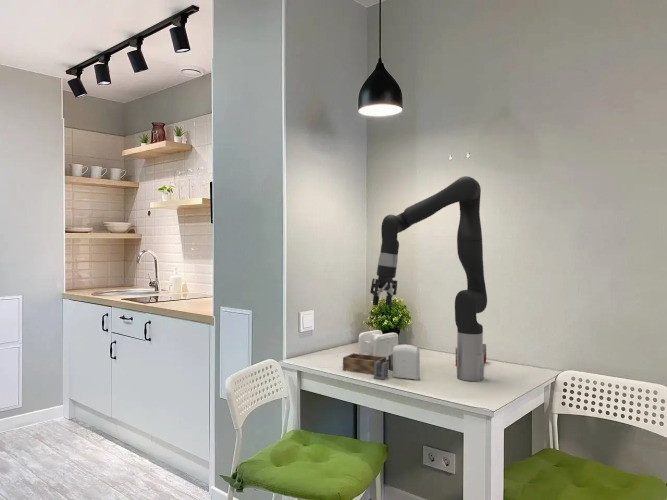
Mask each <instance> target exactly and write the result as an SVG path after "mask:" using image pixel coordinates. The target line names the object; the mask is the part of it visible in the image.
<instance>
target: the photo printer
mask: <svg viewBox="0 0 667 500" xmlns="http://www.w3.org/2000/svg"><path fill="white" fill-rule="evenodd" d="M420 365H421V363H420V349H419V347H417V346H414V345H411V344H398V345H397V346H394V348H393V371H392V377H393V378H399V379H400V378H401V379H408V380H416V381H417V380H420V378H421V377H420V375H421V374H420V372H421V371H420Z"/></svg>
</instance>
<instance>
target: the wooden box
mask: <svg viewBox="0 0 667 500" xmlns="http://www.w3.org/2000/svg"><path fill="white" fill-rule="evenodd" d="M377 361H381V373H382V363H384V362H387V360H386V357H380V356H372V355H364V354H359V353H355V352H354V353H350V354H348V355H345V356H344V357H342V370H343V371H346V372H347V371H349V372H353V373H354V372H355V373H361V374H368V375H374V363H375V362H377Z"/></svg>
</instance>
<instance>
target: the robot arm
mask: <svg viewBox="0 0 667 500" xmlns="http://www.w3.org/2000/svg"><path fill="white" fill-rule="evenodd" d="M481 192H482V188H481V185H480V183H479V182H478V181H477V180H476V179H475V178H473V177H472V176H467V175H466V176H461V177H459V178H457V179H456V180H455V181H453V182H452V183H450V184H448V186H446V187H445V188H443V189H441V190H440V191H437V193H435V194H433V195H431V196H428V197H427V198H425V199H423V200H420V201H418V202H416V203H414V204H412V205H410V206H408V207H406V208H405V209H404V211H403V212H401V213H398V214H397V215H395V214H387V215H386V216H385V217H384V218H383V219H382V222H381V228H380V230H381V246H380V253H379V255H378V257H379V258H378V261H377V262H378V263H377V269H376V276H378V277H377V278H372V281H371V286H370V291H369V292H370V294H371V295H372V296H373V297H372V305H373V306H378V305H379V300H380V295H381V294H382V293H383V292H386V297H385V306H391V305H392V299H393V297H394V296H396V295H397V290H398V289H397V288H398V280H396V279H395V278H396V274H397V268H398V258H399V257H398V255H399V248H400V242H399V240H398V234H399V233H402V232H404V231H406V230H408V229H409V228H410V227H411V226H413V225H415V224H417V223H420V222H422V221H425V220H426V219H428V218H430V217H432V216H434V215H435V214H436V213H437V212H439V211H440V210H442V209H444V208H446V207H448V206H451V205H453V204H456V203H458V204H459V221H458V227H457V234H456V235H457V236H456V246H457V247H456V248H457V256H458V259H459V262H460V264H461V266H462V268H463V271H465V275H466V285H467V287H466V289H462V290H460V291H458V292H457V294H456V296H455V299H454V321H455V325H456V328H457V330H456V331H457V335H456V337H457V338H456V340H457V341H456V343H457V344H456V347H457V366H456V378H457V379H459V380H462V381H466V382H467V381H469V382H481V381H482V380H483V379H484V375H485V368H484V367H485V363H484V352H483V344H484V343H483V341H484V340H483V339H484V337H483V335H484V328H483V327H484V326H483V324H481V323H479V322H478V320H477V314H481V313H483V312H484V311H485V310H486V308H487V305H488V295H487V287H486V282H485V273H484V272H485V271H484V255H483V254H484V250H483V249H484V247H483V235H482V225H481V224H482V223H481V216H480V207H481Z"/></svg>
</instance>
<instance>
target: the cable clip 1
mask: <svg viewBox="0 0 667 500" xmlns="http://www.w3.org/2000/svg"><path fill="white" fill-rule="evenodd" d="M388 378H389V370H388V361H386V362H384V363H382V372H381V361H377V362H375V363H374V374H373V379H376V380H386V379H388Z"/></svg>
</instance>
